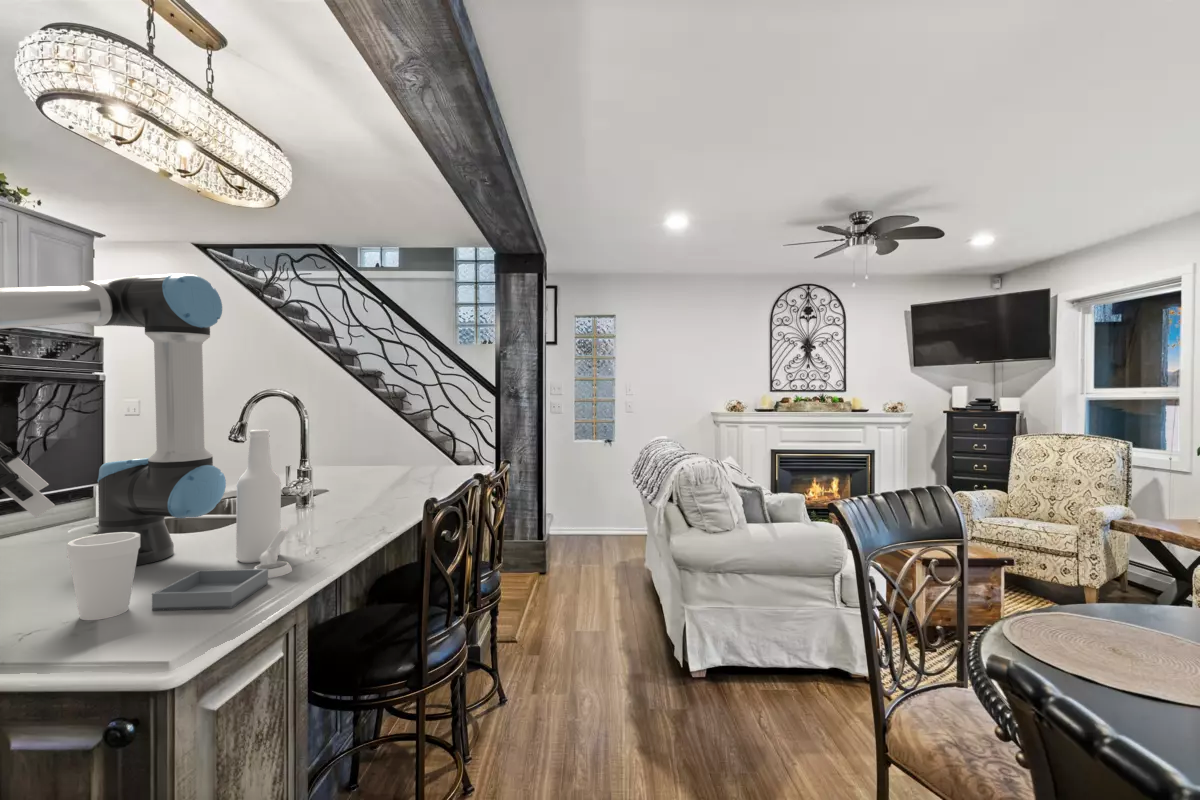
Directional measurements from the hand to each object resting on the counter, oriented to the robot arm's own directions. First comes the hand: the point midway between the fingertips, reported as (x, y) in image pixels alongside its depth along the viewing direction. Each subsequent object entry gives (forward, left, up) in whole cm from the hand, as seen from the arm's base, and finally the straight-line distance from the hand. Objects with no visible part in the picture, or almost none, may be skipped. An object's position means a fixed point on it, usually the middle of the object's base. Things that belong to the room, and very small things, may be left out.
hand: (42, 499), depth 94 cm
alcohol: (-34, +18, -20) cm, 44 cm away
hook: (-23, +26, -20) cm, 41 cm away
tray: (-9, +22, -20) cm, 31 cm away
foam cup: (-2, +8, -20) cm, 22 cm away
